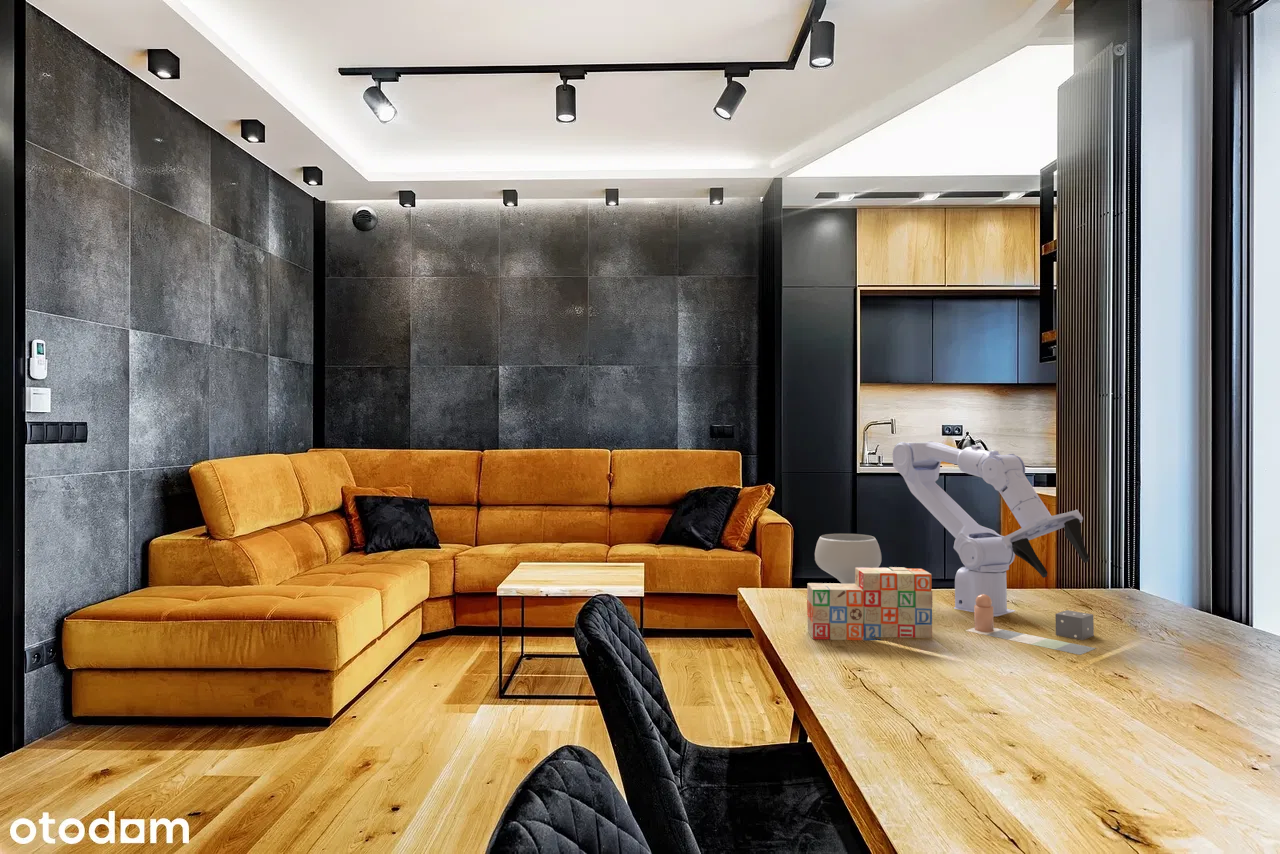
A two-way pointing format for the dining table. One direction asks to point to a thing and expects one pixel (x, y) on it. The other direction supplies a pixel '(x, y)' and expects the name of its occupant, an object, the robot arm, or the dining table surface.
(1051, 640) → the board
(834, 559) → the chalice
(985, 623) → the pawn
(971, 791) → the dining table surface
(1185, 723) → the dining table surface
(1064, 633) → the die
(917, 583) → the stack of blocks
